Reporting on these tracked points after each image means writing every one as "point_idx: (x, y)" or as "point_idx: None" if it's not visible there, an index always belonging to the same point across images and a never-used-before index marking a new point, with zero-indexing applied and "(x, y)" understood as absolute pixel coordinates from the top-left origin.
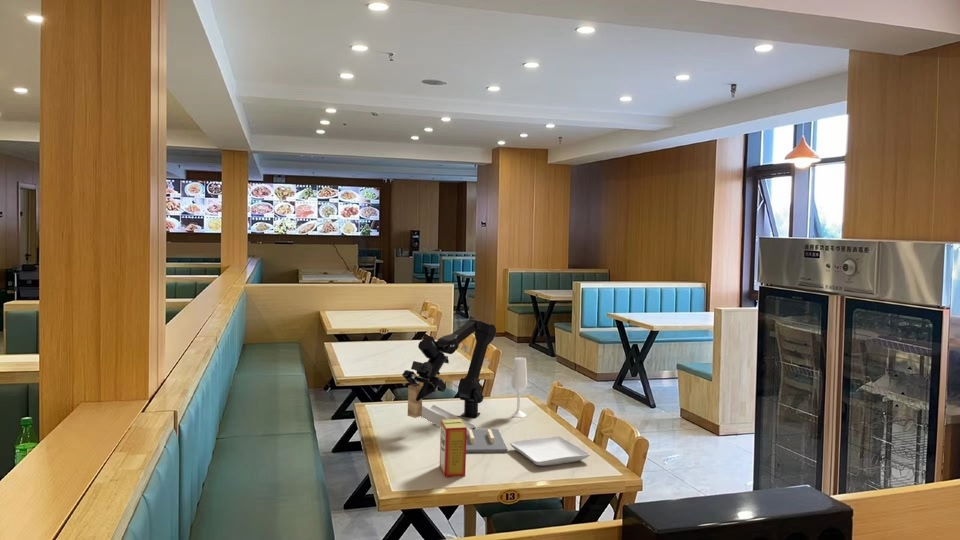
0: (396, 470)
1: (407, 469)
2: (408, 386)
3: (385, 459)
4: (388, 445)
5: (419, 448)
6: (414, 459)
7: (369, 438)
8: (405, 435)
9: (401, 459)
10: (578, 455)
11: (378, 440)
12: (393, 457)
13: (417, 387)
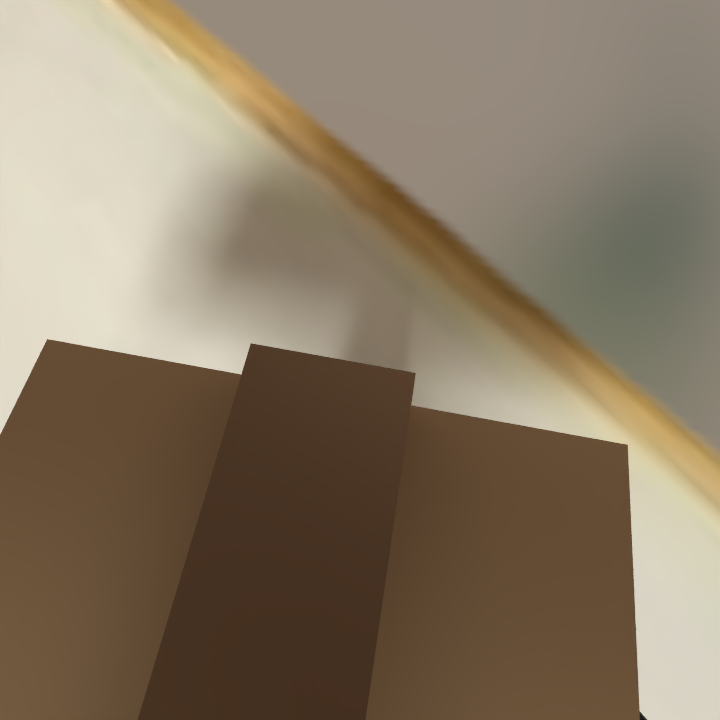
0: (69, 27)
1: (16, 54)
2: (590, 455)
3: (205, 99)
4: (333, 272)
5: (85, 334)
6: (34, 165)
7: (550, 315)
8: None
9: (115, 134)
10: None
11: (465, 315)
12: (178, 136)
13: (6, 458)
